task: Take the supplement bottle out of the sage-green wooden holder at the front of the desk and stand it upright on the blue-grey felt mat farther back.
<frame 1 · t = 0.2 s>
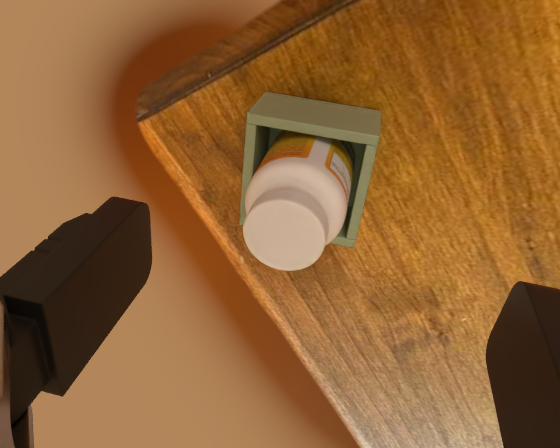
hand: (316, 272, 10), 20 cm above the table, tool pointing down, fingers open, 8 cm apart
supplement bottle: (314, 156, 30), resting on caddy
caddy: (314, 155, 31), on the table
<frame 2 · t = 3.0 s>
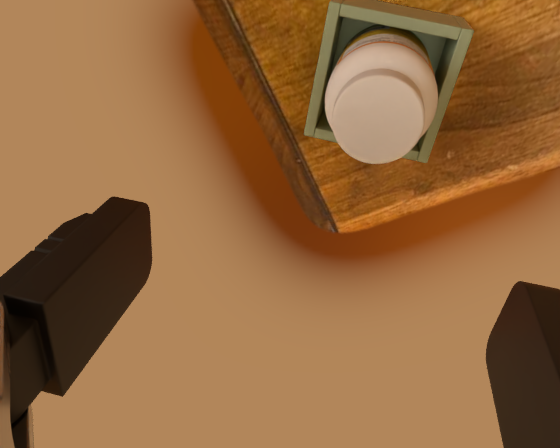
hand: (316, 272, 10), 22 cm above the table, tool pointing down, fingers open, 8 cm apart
supplement bottle: (383, 69, 29), resting on caddy
caddy: (383, 68, 29), on the table
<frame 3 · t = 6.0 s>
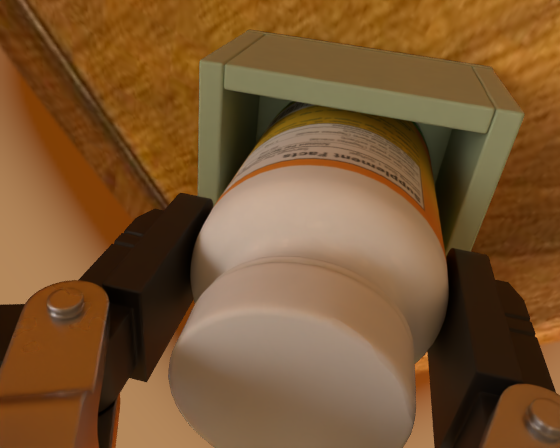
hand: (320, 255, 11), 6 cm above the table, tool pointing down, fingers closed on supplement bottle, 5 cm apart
supplement bottle: (344, 160, 16), resting on caddy, touching gripper
caddy: (344, 159, 16), on the table
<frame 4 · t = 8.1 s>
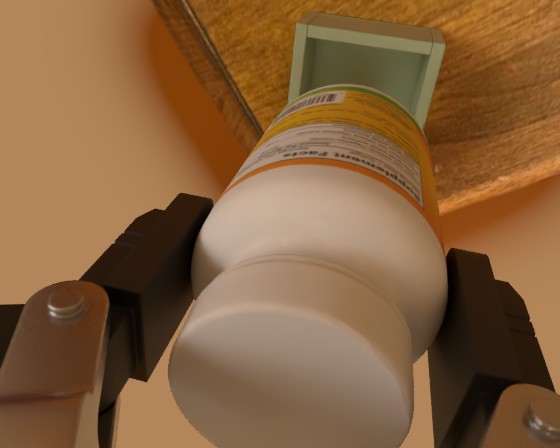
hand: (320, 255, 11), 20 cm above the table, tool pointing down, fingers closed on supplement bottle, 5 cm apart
supplement bottle: (345, 160, 16), point 14 cm above the table, touching gripper
caddy: (362, 85, 28), on the table
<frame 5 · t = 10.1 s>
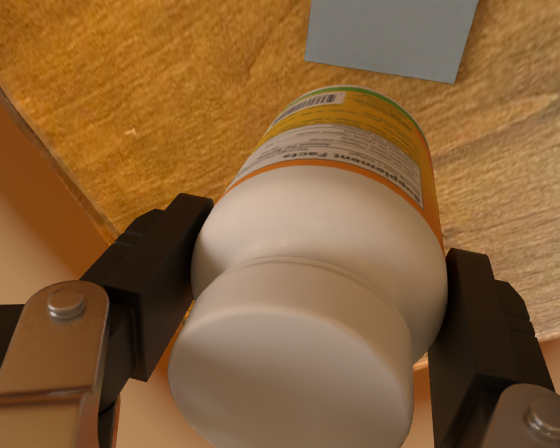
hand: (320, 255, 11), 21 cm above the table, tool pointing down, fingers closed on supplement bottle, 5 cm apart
supplement bottle: (345, 160, 16), point 15 cm above the table, touching gripper
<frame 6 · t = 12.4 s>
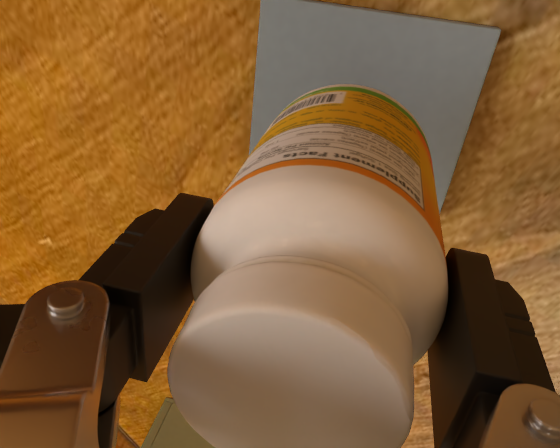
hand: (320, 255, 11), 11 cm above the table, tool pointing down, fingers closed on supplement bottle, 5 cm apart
supplement bottle: (345, 160, 16), point 5 cm above the table, touching gripper
caddy: (213, 440, 35), on the table
mat: (358, 110, 20), on the table
when the fingers open (6 cm above the table, at t = 14.2 s): supplement bottle stays where it is, resting on mat.
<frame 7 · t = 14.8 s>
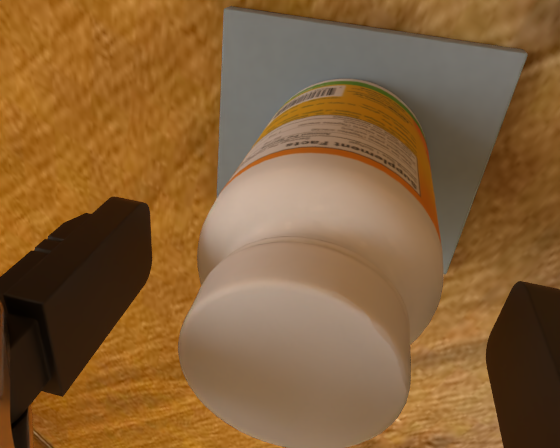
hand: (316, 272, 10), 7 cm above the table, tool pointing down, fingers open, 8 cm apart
supplement bottle: (345, 153, 16), resting on mat
mat: (347, 148, 17), on the table
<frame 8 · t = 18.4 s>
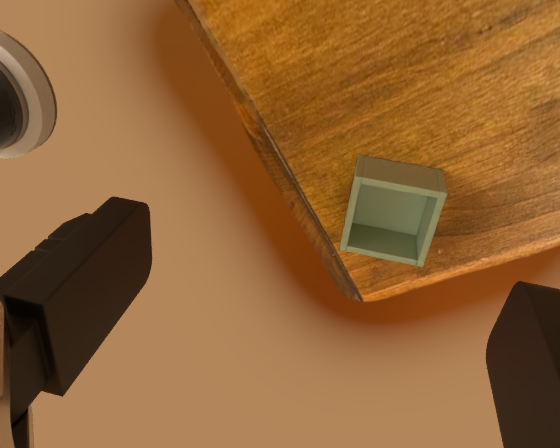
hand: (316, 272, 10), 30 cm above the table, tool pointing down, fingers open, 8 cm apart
caddy: (390, 199, 42), on the table
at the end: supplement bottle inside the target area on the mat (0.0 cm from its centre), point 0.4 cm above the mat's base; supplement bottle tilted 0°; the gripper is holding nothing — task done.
